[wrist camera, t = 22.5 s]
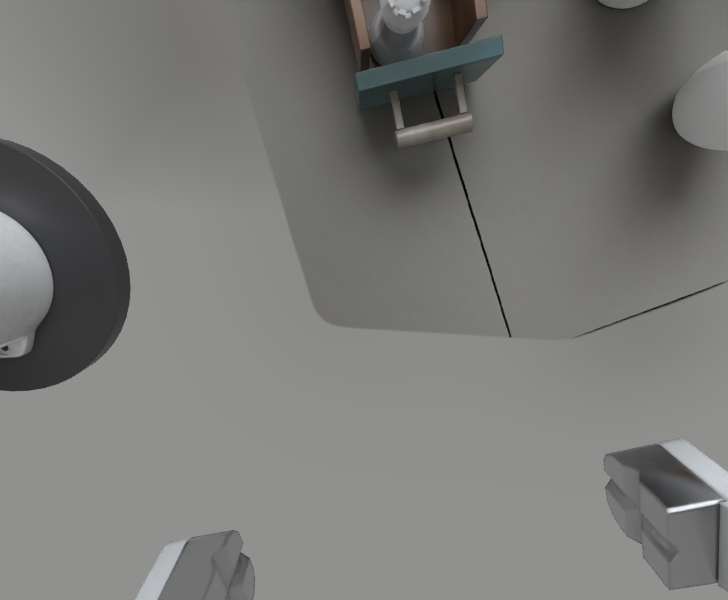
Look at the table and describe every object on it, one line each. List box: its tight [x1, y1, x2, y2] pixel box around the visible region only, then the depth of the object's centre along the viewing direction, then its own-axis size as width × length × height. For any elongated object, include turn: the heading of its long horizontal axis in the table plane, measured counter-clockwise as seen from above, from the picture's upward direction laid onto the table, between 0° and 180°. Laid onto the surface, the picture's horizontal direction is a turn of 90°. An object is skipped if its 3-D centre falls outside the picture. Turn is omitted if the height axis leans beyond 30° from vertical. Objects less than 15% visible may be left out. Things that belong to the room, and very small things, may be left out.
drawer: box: [344, 0, 504, 149], centre depth 29 cm, size 18×10×7 cm, turn 13°
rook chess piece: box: [369, 0, 431, 66], centre depth 28 cm, size 4×4×8 cm
